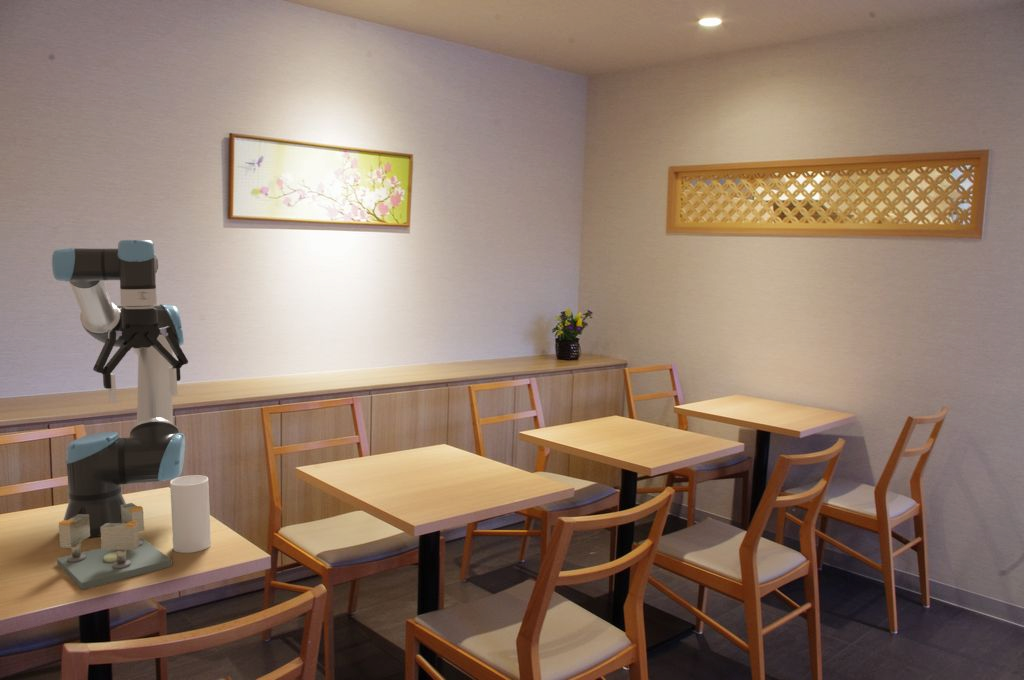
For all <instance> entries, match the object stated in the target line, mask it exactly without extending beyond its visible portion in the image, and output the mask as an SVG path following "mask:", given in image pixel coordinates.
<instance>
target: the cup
mask: <svg viewBox="0 0 1024 680" xmlns="http://www.w3.org/2000/svg"><path fill="white" fill-rule="evenodd" d="M169 487H170V504H171V505H170V508H171V511H170V512H171V527H172V528H171V529H172V530H171V531H172V546H173V547H172V549H173V551H175V552H176V553H181V554H189V553H191V554H192V553H197V552H200V551H203V550H207V549H209V547H211V546H212V537H211V534H212V533H211V512H210V511H211V510H210V509H211V508H210V492H209V491H210V488H209V477H208V476H206V475H199V474H198V475H197V474H191V475H184V476H179V477H178V478H175V479H172V480H170V483H169Z"/></svg>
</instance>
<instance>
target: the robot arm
mask: <svg viewBox="0 0 1024 680" xmlns="http://www.w3.org/2000/svg"><path fill="white" fill-rule="evenodd" d="M154 245H155V244H154V243H153V241H152V240H150V239H120V240H119V242H118V244H117V248H78V247H77V248H74V247H69V248H56V249H55V250H54V251H53V253H52V256H51V268H52V274H53V277H54V279H55V280H56V281H62V282H69V284H70V287H71V289H72V291H73V294H74V298H75V299H76V302H77V304H78V307H79V309H80V314H79V318H80V319H79V320H80V323H81V326H82V327H83V329H84V330H85V332H87V334H89V335H90V336H91V337H92V338H93V339H95V340H97V341H99V342H101V343H103V346H102V349H101V351H100V353H99V355H98V357H97V360H96V361H95V364H94V365H93V368H92V370H93V371H94V372H96V373H97V374H98V373H99V374H101V375H102V382H103V388H104V389H106V390H108V391H107V393H108V401H109V403H111V404H117V389H116V388H117V387H116V374H115V373H112V372H113V371H114V370H115V369H116V367H118V365H119V364H120V363H121V361H122V360H123V359H124V357H125V356H126V355H127V354H128V353H129V351H131V349H132V350H133V353H135V354H136V355H137V365H138V366H137V394H136V395H137V399H136V400H137V405H136V425H134V426H133V427H132V428H131V429H130V432H129V437H128V436H127V437H120V435H119V432H117V431H103V432H95V433H93V434H89V435H84V436H81V437H79V438H76V439H74V440H71V442H70V443H69V444H68V445H67V446H66V459H65V464H66V470H67V471H66V472H67V484H68V502H67V503H68V505H67V507H66V511H65V515H64V517H63V520H69V519H71V518H73V517H74V516H76V515H78V514H89V524H90V537H89V538H93V537H94V538H95V537H101V529H100V527H101V526H103V525H104V524H106V523H122V519H121V505H123V504H127V503H126V501H125V498H124V496H123V492H122V485H132V484H143V483H144V484H145V483H155V482H160V483H161V482H165V481H171V480H173V479H175V478H178V477H181V474H182V472H183V466H184V461H185V449H186V436H185V434H184V433H181V432H180V431H179V428H178V426H176V424H174V423H173V418H174V417H173V416H174V415H173V412H174V409H173V407H174V406H173V403H174V402H173V396H174V397H175V396H178V382H179V381H181V368H182V367H183V366H184V365H188V363H189V360H188V358H187V357H186V355H185V353H184V352H183V351H184V350H183V349H182V348H181V346H182V345H184V344H185V343H184V333H183V328H182V320H181V315H180V311H179V308H178V307H177V306H175V305H172V304H170V305H169V304H159V305H158V303H157V302H158V301H157V299H158V298H157V297H158V296H157V285H156V274H157V272H158V269H159V260H158V258H157V256H156V251H155V246H154ZM106 281H119V285H120V286H119V288H120V290H119V291H120V292H119V293H120V305H115V304H114V303H113V302H112V299H111V294H110V293H109V290H108V286H107V285H108V284H107V283H106ZM114 347H115V348H118V349H117V350H116V351H115V353H114V354H113V356H112V357H111V358H110V354H111V352H112V350H113V348H114ZM174 355H175V357H176V358H175V357H174ZM109 358H110V359H109ZM108 359H109V360H108Z"/></svg>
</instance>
